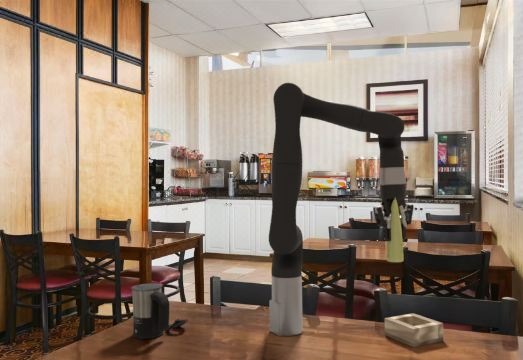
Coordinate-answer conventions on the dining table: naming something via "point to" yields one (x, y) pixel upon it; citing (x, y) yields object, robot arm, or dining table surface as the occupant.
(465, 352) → the dining table surface
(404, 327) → the socket block
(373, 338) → the dining table surface
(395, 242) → the tube
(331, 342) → the dining table surface
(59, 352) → the dining table surface
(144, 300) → the milk frother
